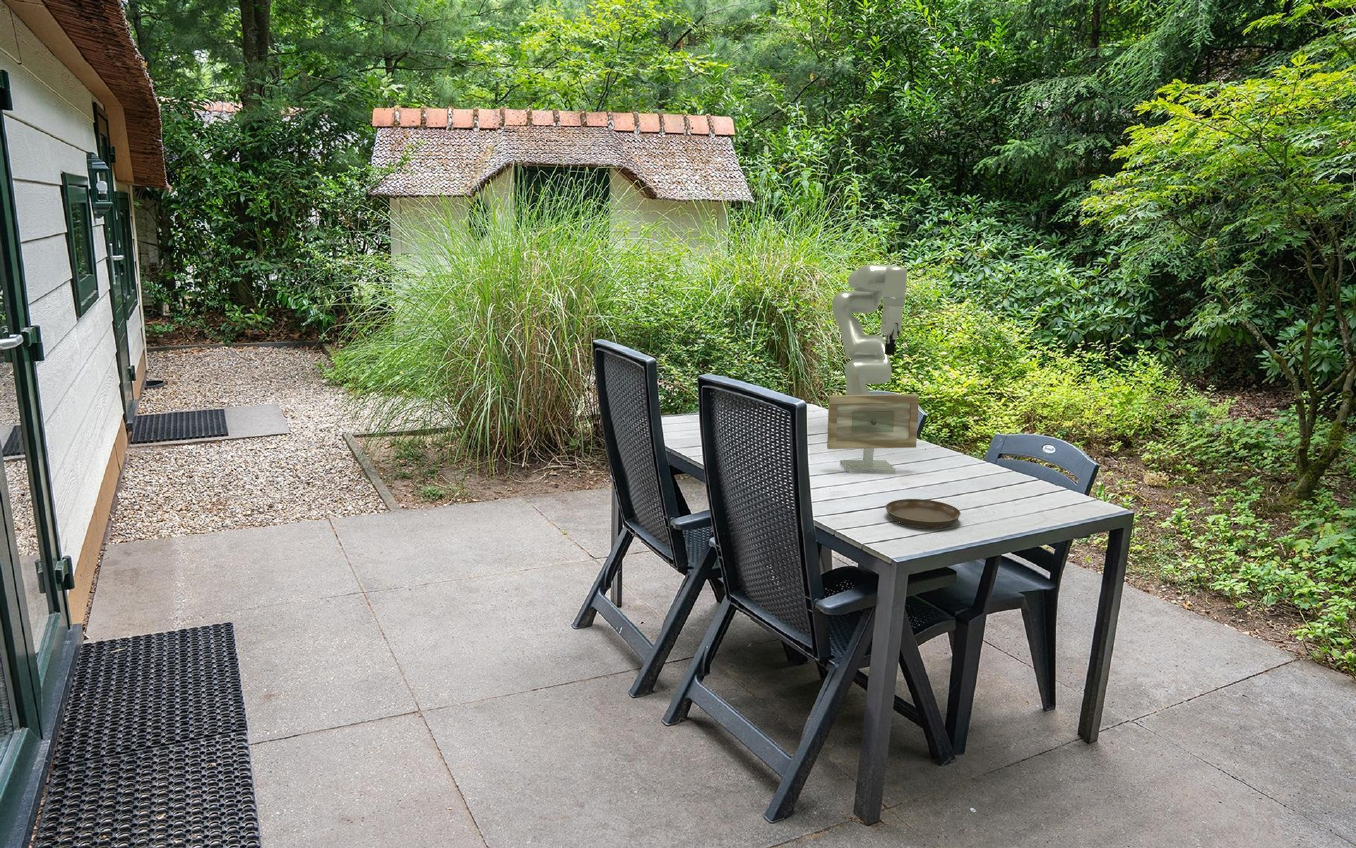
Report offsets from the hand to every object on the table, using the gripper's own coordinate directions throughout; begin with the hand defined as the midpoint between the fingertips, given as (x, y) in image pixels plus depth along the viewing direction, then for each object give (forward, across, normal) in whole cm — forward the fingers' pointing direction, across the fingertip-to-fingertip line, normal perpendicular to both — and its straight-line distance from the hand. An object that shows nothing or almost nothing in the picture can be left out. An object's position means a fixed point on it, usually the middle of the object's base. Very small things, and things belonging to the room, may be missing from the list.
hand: (889, 354), depth 329 cm
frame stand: (+37, +18, -10) cm, 42 cm away
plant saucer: (+38, +73, -9) cm, 83 cm away
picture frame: (+29, +20, -10) cm, 37 cm away
